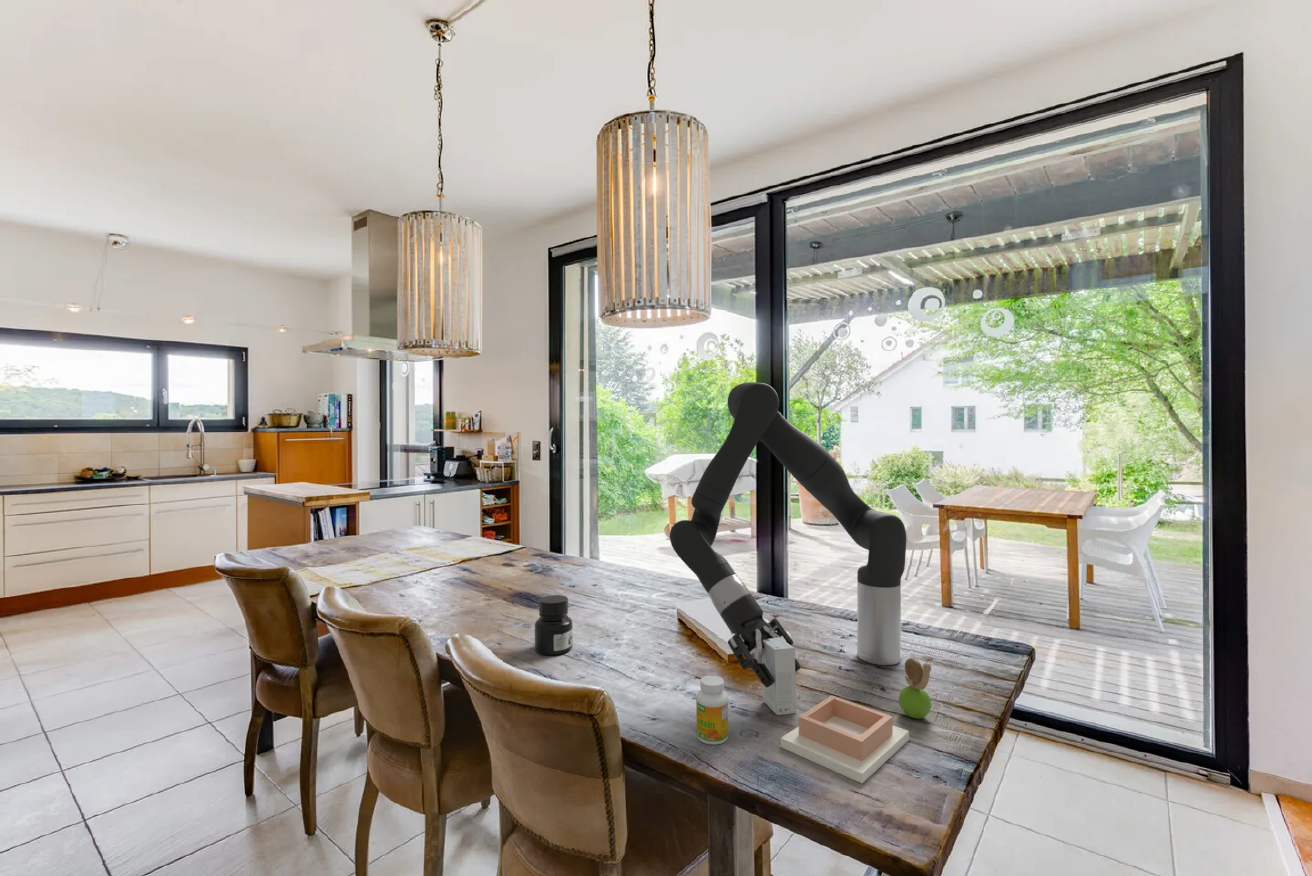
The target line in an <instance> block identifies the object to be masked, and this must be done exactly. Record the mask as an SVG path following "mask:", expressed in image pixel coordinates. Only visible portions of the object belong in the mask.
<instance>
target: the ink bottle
mask: <svg viewBox="0 0 1312 876" xmlns="http://www.w3.org/2000/svg"><path fill="white" fill-rule="evenodd" d="M568 613H569V598H568V596H565V595H561V594H551V595H545V596H542V597H540V598H539V599H538V616H539V617H538V619H536V621H535V622H534V650H535V652H536V653H538V654H540V655H544V656H558V655H559V656H560V655H563V654H566V653H568V652H569V651H571V650H572V649H573V645H574V644H573V643H574V642H573V641H574V640H573V637H574V636H573V635H574V634H573V627H574V626H573V619H572V618H570V617H569V615H568Z"/></svg>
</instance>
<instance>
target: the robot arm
mask: <svg viewBox="0 0 1312 876" xmlns="http://www.w3.org/2000/svg"><path fill="white" fill-rule="evenodd" d="M779 407H780V399H779V396H778V393H777V391H776V390H775V389H774V388H773V387H772V386H771V385H769V384H768V383H764V382H754V381H753V382H751V381H750V382H743V383H740V384H737V385H735V386H734V387H733V388H732V389H731V390H730V391H729V393H728V395H727V409H728V411H729V413H730V415H731V417H732V418H733V419H734V420H733V423H732V425H731V428H730V430H729V432H728V435H727V436H726V438H725V440H724V442H723V444H722V445H721V447H720V449H719V450H718V451H717V452H716V454H715V455H714V457H713V458H712V459H711V461H710V462H709V463H708V465H707V467H706V468H705V470H704V472H703V474H702V476H701V477H700V480H699V482H698V483H697V486H696V488H695V490H694V493H693V495H692V497H691V506H692V507H693V508H694V510H693V513H692V516H691V520H689V519H683V520H679V521H677V522H675V523H674V524H673V525H672V527H671V529H670V532H669V541H670V544H671V547H672V549H673V551H674V552H675V553H676V554H677V557H678V558H680V560H681V561H682V562H683V563H684V564H685V565H686V566H687V567H688V568H689V569H690V571H692V572H693V573H694V575H695V576H696V577H697V579H698V580H699V582H700V584H701V585H702V588H704V590H705V591H706V593H707V595H708V596H709V598H710V600H711V603H712V605H713V606H714V608H715V610H716V611H717V612H718V614H719V616H720V617H721V619H722V620H723V622H724V623H725V625H726V626H727V628H728V630H729V631H730V632H731V634H732V635H733V636H731V637H730V638H729V639H728V640H727V644H728V646H729V648H730V649H731V651H732V653H733V655H734V656H735V658H736V659H737V661H738V663H739V665H740V666H741V669H742V670H747V669H750V670H751V671H754V673H755V675H756V676H757V678H758V679H759V681H760V682H761V684H762V685H763V684H764V685H765V687H769V686H771V685H772V684H773V683H774V682H775V679H774V678H773V676H772V675H771V673H770V672H769V670H768V669H767V667H766V665H765V664H764V663H763V664H762V650H763V649H764V648H765V647H764V643H763V640H764V639H770V638H781V639H783V640H784V641H786V642H787V643H788V644H790V645H791V646H793V645H794V641H793V639H792V637H790V634H788V632H787V631H786V630H785V629H784V627H783V626H782V624H781V623H780V622H779V621H778V619H777V618H775V617H774V618H772V619H771V620H770V621H769V622H766V621H765V619H763V618H764V617H763V615H764V611H763V609H762V607H761V606H760V604H759V603H758V602H757V600H756V599H755V597H754V596H753V594H752V593H751V592H750V590H749V588H748V587H747V586H746V584H745V583H744V582H743V580H741V578H740V577H739V576H738V575H737V573H736V572H735V571H734V569H733V567H732V565H731V564H730V563H729V562H728V560H727V559H726V558H725V557H724V556H723V554H720V553H718V552H717V551H715V550H714V549H713V547H712V546H713V544H714V542H715V539H716V537H717V536H716V535H717V533H718V529H719V525H720V521H721V517H722V512H723V510H724V508H725V506H726V504H727V501H728V500H729V497H730V495H731V493H732V491H733V489H734V486H735V484H736V482H737V480H738V479H739V476H740V474H741V472H742V470H743V468H744V466H746V465H745V464H746V463H747V461H748V459H749V457H750V456H751V454H752V453H753V450H754V449H755V447H756V446H757V444H758V443H759V441H760V442H762V443H763V444H764V445H765V446H766V447H767V448H768V449H769V451H770V452H771V453H772V454H773V455H774V456H775V457H776V459H777V460H778V462H779V463H780V464H781V465H782V466H783V467H784V468H785V469H786V470H787V472H789V474H790V475H792V477H793V479H795V480H796V481H797V482H798V483H799V484H800V485H801V487H803V488H804V489H805V490H806V491H807V492H808V493H809V494H810V495H811V496H812V497H813V498H814V499H816V500H817V502H819V503H820V504H821V505H822V506H823V507H824V508H825V509H826V510H827V511H828V512H829V513H831V514H832V515H833V516H834V517H835V519H836V520H837V521H838V522H839V524H840V525H841V527H843V529H844V530H845V531H846V533H847V534H848V535H849V536H850V538H851V539H852V540H853V541H854V543H856V545H858V546H859V547H860V548H863V549H865V550H868V557H867V564H866V565H862V566H860V567H859V568H858V569H857V573H856V575H857V580H856V581H857V586H856V587H857V592H856V594H857V595H856V596H857V598H856V599H857V600H856V601H857V602H856V603H857V604H856V605H857V609H856V613H857V614H856V615H857V619H856V621H857V625H856V627H857V629H856V631H857V634H856V635H857V636H856V637H857V639H856V641H857V642H856V647H857V648H856V651H857V653H856V655H857V657H858V659H860V660H862V661H864V662H867V663H870V664H874V665H879V666H892V665H897V664H899V663H900V662H901V646H902V645H901V644H902V643H901V634H902V633H901V631H902V630H901V627H902V625H901V624H902V623H901V622H902V619H901V617H902V615H901V614H902V613H901V612H902V610H901V609H902V607H901V606H902V604H901V603H902V602H901V601H902V597H901V596H902V595H901V593H902V592H901V590H902V584H901V583H902V576H903V574H904V572H905V568H906V567H905V566H906V552H907V551H906V550H907V532H906V527H905V524H904V522H903V520H902V519H901V518H900V517H898V516H897V515H895V514H892V513H889V512H883V511H880V510H876V509H874V508H872V507H871V506H869V505H868V504H867V503H866V502H865V501H864V500H862V499H861V498H860V497H859V496H858V495H857V493H855V491H854V490H853V488H852V487H851V485H850V482H849V479H848V476H847V475H846V474H847V473H846V472H845V470H844V468H843V467H842V466H841V464H840V463H839V462H838V460H837V459H836V458H835V457H833V455H832V454H831V453H830V452H829V451H827V449H826V448H825V447H824V446H823V445H822V444H820V443H819V442H818V441H816V440H815V439H814V438H812V437H811V436H809V435H808V434H807V433H805V432H803V431H802V430H801V429H799V428H797V427H796V426H795V425H793V424H792V423H791V422H789V421H788V420H787V419H786V417H784V416H783V414H782V413H781V412H780V411H779ZM782 637H783V638H782ZM800 669H801V665H800V663H799V661H798V660H797V658H796V657H795V673H797V672H799V670H800Z"/></svg>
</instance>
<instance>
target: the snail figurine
mask: <svg viewBox="0 0 1312 876" xmlns="http://www.w3.org/2000/svg"><path fill="white" fill-rule="evenodd" d="M932 661H933V658H932V657H929V658H928V657H926V658H925V663H923V665H922V664H921V663H920V661H919V660H917V659H916V658H912V657H910V658H908V659H906V660H905V663H904V671H905V676H904V680H905V681H906V683H907V685H908V686H905V687H904V688H902V689H901V691H900V692H899V695H898V704H899V707H900V708H901V710H902V712H903V713H904V714H905V715H907V717H910V718H913V719H917V720H918V719H923V718H925V717H927V716H928V715H929V713H930V712H931V710H932V699H931V696H930V695H929V694H928V692H927V691H926V690H925V689H926V688H927V686H928V684H929V681H930V674H931V670H932V666H931V663H932ZM928 662H930V663H928Z"/></svg>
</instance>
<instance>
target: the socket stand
mask: <svg viewBox="0 0 1312 876" xmlns="http://www.w3.org/2000/svg"><path fill="white" fill-rule="evenodd" d="M893 721H894V720H893V716H892V715H889V714H887V713H884V712H882V711H878V710H875V709H872V708H869V707H866V706H863V705H862V704H858V703H856V702H852V701H850V700H847V699H843V698H841V697H837V696H835V695H832V694H831V695H829V696H828V697H826V698H825V699H824V700H822V701H821V702H819V703H817V704H816V705H814V706H812V707H811V708H810V709H809V710H807V711H805V712H804V713H802V714H801V715H798V726H796V727H795V728H793V729H792V730H791V731H789V732H787V733H786V734H784V735H783V736H781V737H780V748H782V749H784V750H786V751H789V752H791V753H793V754H796V755H797V756H800V757H802V758H804V759H807V760H809V761H810V762H813V763H815V764H818V765H820V766H822V767H824V768H827V769H829V770H831V771H833V772H835V773H838V774H840V775H841V776H844V777H847V778H849V779H850V780H853V781H856V782H857V783H860V784H863V783H865V782H866V781H867V780H868V779H869V778H870V777H871V776H873V774H874V773H876V772H877V770H879V768H881V767H882V766H883V765H884V764H885V763H886V762H887V761H889V759H891V757H892V756H893V755H895V754H896V753H897V752H898V751H899V750H900V749H901V748H902V747H903V746H904V745H905V744H906V743H907V742H909V740H910V731H909V730H907V729H904V728H901V727H899V726H895V725H893Z"/></svg>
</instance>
